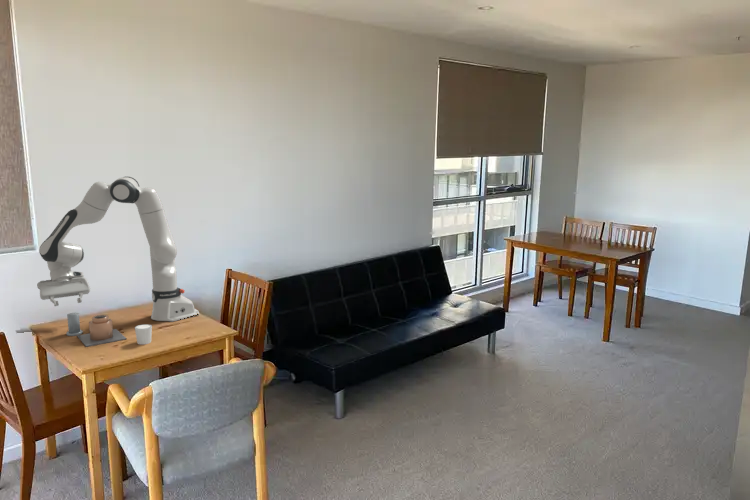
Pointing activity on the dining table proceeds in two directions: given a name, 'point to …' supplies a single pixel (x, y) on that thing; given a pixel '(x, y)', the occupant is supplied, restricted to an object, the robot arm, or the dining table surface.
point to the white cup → (143, 334)
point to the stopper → (73, 324)
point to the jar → (100, 332)
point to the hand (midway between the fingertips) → (68, 303)
